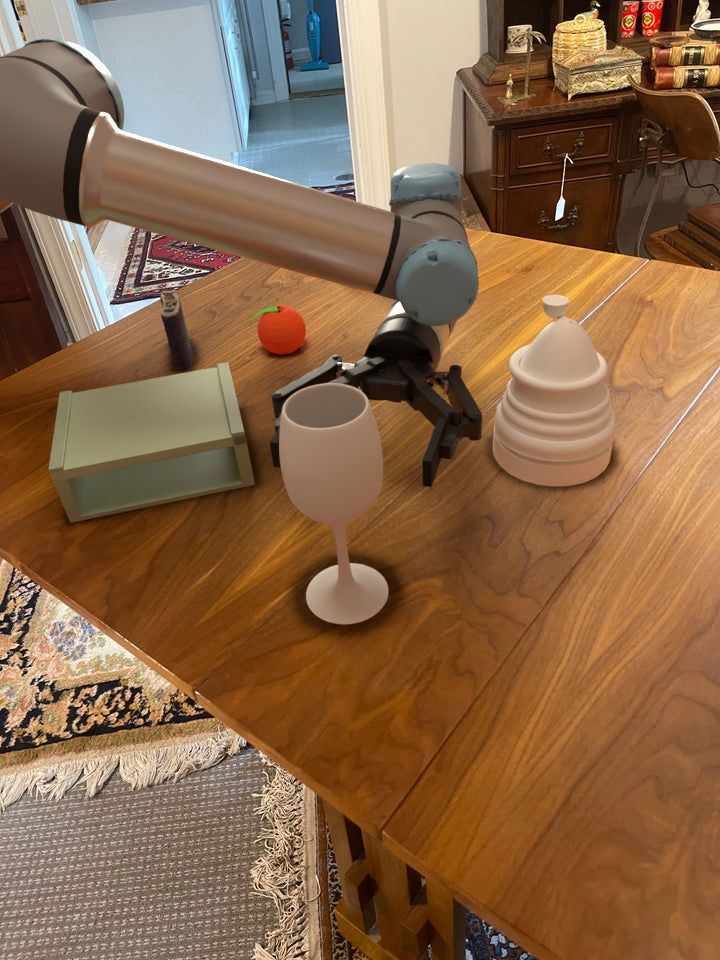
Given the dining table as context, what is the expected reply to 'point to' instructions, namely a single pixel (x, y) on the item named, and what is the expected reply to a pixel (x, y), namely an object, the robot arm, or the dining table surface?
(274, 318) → the clementine
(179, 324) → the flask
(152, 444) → the shelf
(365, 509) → the wineglass
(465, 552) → the dining table surface
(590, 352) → the honey pot
